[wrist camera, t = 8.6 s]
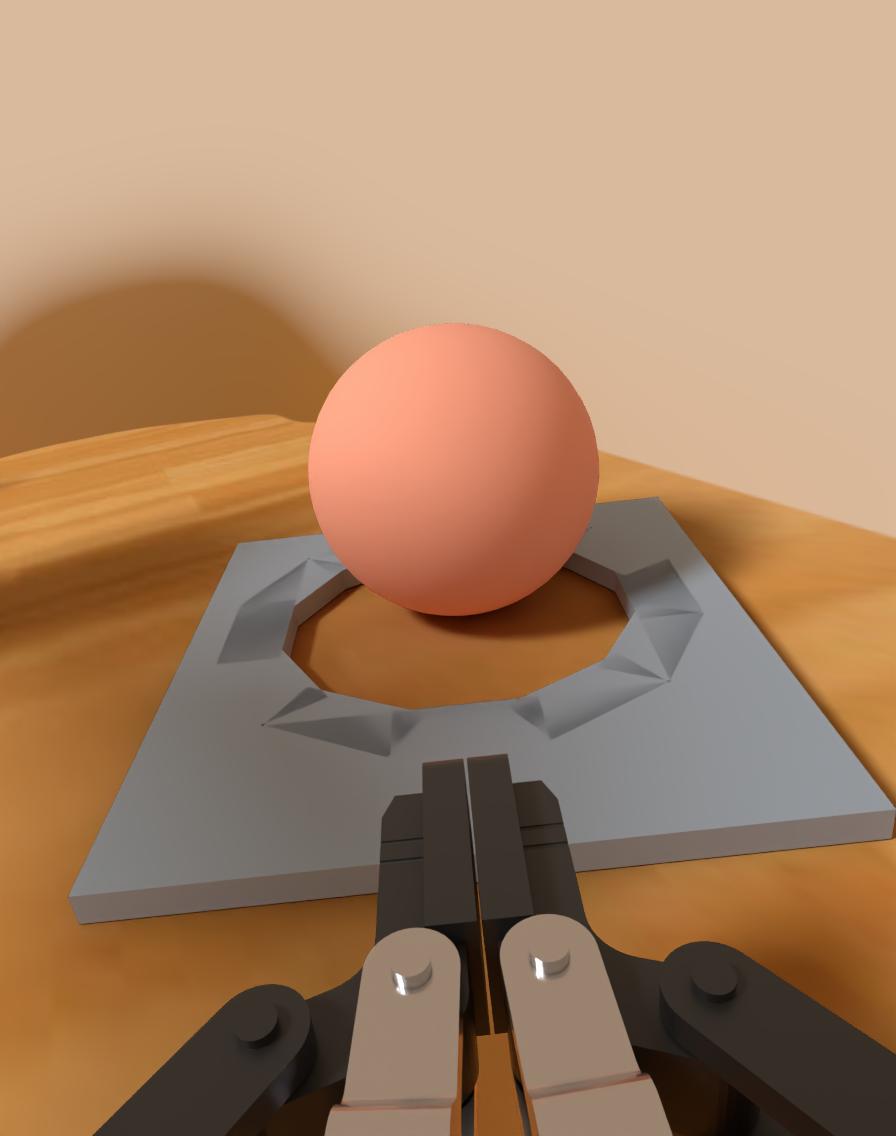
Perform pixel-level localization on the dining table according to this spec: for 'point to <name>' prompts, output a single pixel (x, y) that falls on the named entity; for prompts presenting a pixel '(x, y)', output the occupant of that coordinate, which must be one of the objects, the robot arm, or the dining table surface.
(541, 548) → the ball
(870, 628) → the dining table surface
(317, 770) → the hole board
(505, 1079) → the dining table surface
